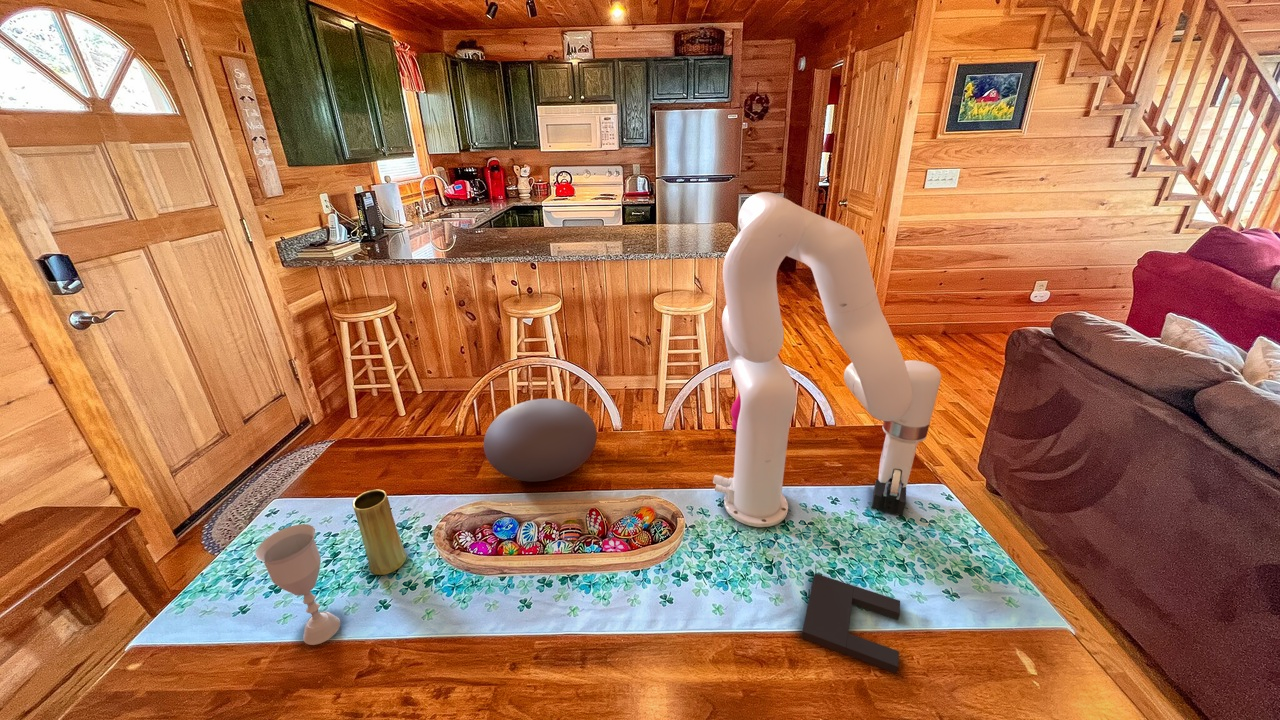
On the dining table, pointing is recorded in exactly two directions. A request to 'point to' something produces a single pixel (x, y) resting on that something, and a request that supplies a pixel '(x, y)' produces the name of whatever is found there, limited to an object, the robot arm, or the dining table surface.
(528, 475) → the flattened ellipsoid
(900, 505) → the connector pad
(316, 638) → the chalice
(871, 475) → the dining table surface
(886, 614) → the base pad
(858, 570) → the dining table surface
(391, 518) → the vase
